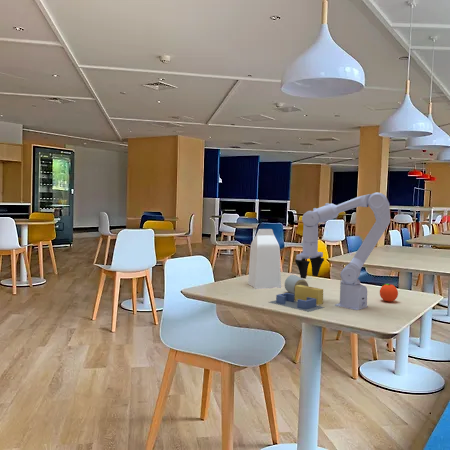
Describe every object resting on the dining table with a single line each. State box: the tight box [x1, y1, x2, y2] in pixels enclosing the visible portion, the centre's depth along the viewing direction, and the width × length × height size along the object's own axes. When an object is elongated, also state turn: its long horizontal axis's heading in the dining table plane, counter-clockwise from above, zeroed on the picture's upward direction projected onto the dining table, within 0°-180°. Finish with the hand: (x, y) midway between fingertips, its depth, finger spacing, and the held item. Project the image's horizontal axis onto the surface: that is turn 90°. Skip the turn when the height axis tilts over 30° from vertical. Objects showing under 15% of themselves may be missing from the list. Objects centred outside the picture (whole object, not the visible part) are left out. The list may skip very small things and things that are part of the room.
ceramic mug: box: [284, 274, 309, 294], centre depth 192 cm, size 11×8×8 cm
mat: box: [268, 300, 325, 313], centre depth 172 cm, size 19×10×1 cm, turn 44°
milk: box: [247, 228, 282, 290], centre depth 208 cm, size 12×12×26 cm
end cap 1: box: [275, 292, 296, 304], centre depth 175 cm, size 4×6×3 cm, turn 134°
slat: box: [295, 285, 324, 306], centre depth 177 cm, size 11×3×6 cm, turn 44°
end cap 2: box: [296, 297, 317, 310], centre depth 168 cm, size 4×6×3 cm, turn 134°
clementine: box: [379, 283, 399, 303], centre depth 182 cm, size 8×7×7 cm
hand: (309, 277), depth 177 cm, fingers open, 7 cm apart
